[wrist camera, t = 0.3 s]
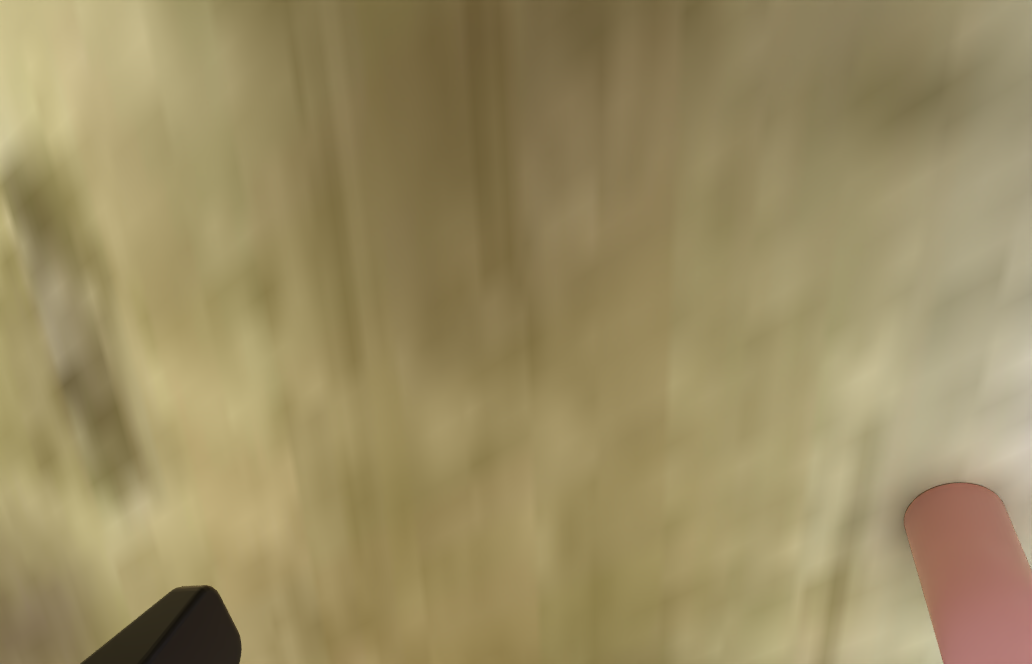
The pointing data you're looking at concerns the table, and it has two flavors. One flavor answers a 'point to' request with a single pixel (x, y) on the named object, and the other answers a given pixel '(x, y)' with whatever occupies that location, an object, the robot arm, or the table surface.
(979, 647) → the rose marker
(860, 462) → the table surface
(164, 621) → the robot arm
